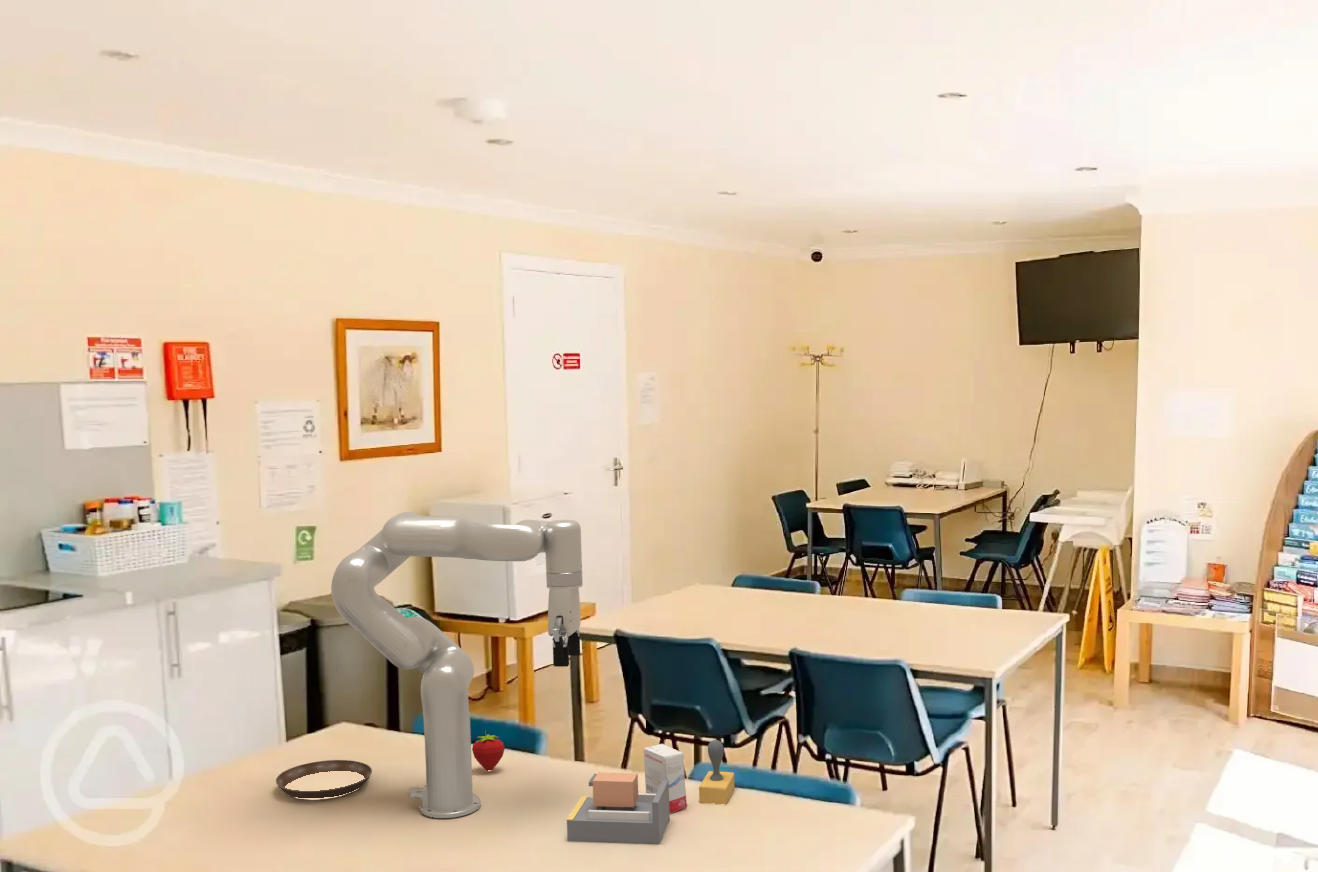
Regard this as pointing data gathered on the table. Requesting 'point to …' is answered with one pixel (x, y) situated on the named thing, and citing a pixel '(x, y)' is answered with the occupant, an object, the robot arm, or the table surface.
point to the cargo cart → (614, 790)
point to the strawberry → (488, 751)
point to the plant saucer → (323, 767)
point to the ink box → (666, 774)
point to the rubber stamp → (716, 778)
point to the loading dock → (622, 820)
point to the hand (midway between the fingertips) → (567, 660)
